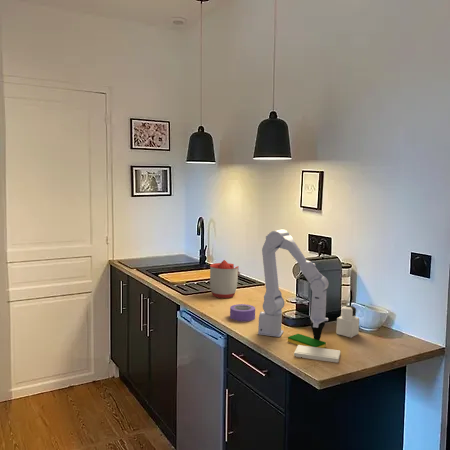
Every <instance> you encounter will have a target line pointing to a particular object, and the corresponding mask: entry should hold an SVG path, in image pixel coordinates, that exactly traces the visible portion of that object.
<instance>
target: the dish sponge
mask: <svg viewBox="0 0 450 450" xmlns="http://www.w3.org/2000/svg"><path fill="white" fill-rule="evenodd" d="M287 342H289V343H291V344H293V345H297V346H298V345H303V346H310V347H318V348H325V349H326V347H327V346H326V345H327V344H326V343H327V342H326V341H323V340H321V339H320V340H317V339H314V337H310V336H307V335H304V334H300V333H296V334H292V335H289V336H287Z"/></svg>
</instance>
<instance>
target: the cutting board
mask: <svg viewBox="0 0 450 450" xmlns="http://www.w3.org/2000/svg"><path fill="white" fill-rule="evenodd" d="M294 356H296V357H295V358H301V357H302V358H303V359H310V360H314V361H315V360H316V361H323V362H332V363H336V364H337V363H338V364H339V361H340V357H341V350H339V349H338V350H337V349H332V348H326V347H325V348H318V347H310V346H303V345H297V346H296V349H295V350H294V352H293V357H294ZM302 358H301V359H302Z"/></svg>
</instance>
